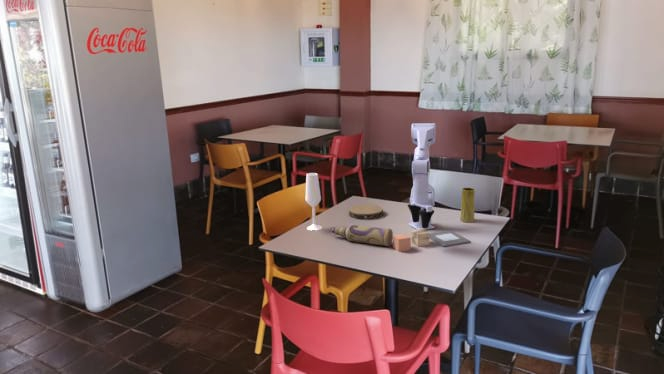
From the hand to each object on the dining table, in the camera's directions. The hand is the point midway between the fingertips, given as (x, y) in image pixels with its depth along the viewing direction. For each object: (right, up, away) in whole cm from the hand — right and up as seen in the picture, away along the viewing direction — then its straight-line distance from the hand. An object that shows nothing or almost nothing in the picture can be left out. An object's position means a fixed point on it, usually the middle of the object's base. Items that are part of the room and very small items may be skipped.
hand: (420, 224), depth 196 cm
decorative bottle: (-22, -7, +7) cm, 24 cm away
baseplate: (+12, -6, +5) cm, 14 cm away
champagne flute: (-42, -3, +25) cm, 49 cm away
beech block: (0, -7, +2) cm, 8 cm away
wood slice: (-18, +1, +41) cm, 45 cm away
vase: (+25, 0, +27) cm, 37 cm away
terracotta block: (-8, -9, -3) cm, 12 cm away
